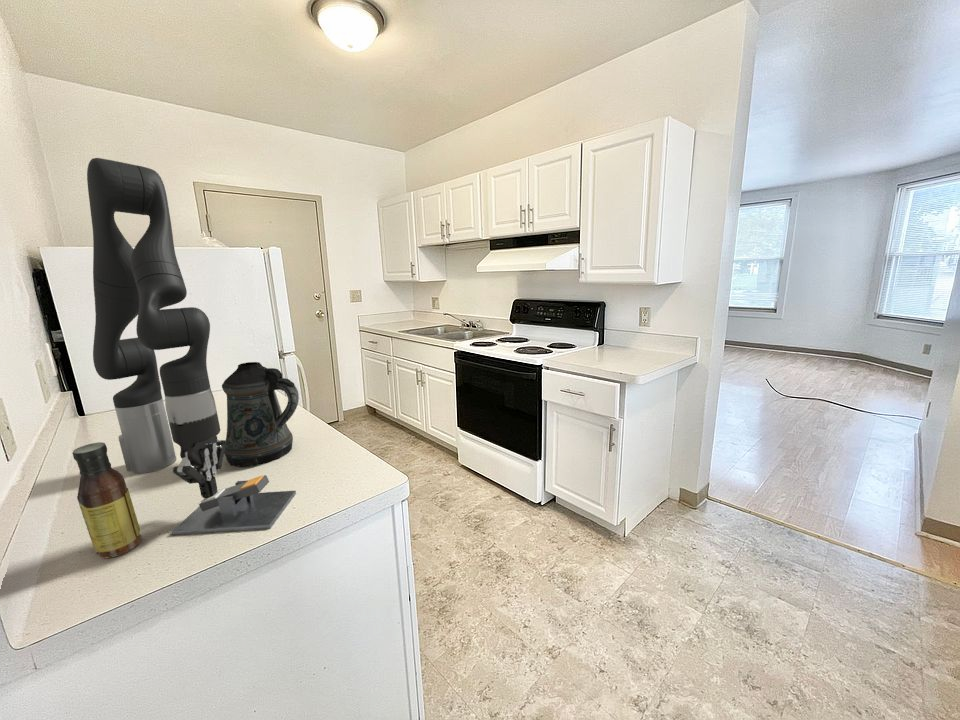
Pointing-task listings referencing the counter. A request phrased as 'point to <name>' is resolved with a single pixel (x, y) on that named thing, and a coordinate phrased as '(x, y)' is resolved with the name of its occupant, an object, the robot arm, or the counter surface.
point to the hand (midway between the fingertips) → (210, 495)
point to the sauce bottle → (105, 503)
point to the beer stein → (257, 415)
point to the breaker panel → (237, 513)
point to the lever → (236, 492)
